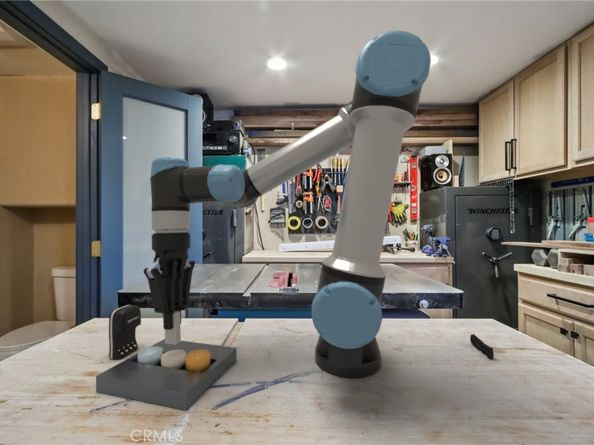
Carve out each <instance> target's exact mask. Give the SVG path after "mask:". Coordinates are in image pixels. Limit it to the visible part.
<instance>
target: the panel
mask: <svg viewBox="0 0 594 445" xmlns="http://www.w3.org/2000/svg"><path fill="white" fill-rule="evenodd" d="M155 346H157V347H162V348H163V354H164V353H166V352H168V351H172V350H184V351H185V352H186V355H187V354H188V353H189V352H191V351H194V350H199V349H205V350H209V351H210V367H209V368H207V369H206V370H205V371H204V372H203V373H197V372H191V371H186V362H185V363H183V364H182V365H180V366H179V367H178V368H176V369H173V368H167V367H161V359H160V360H158V361H156V362H155V363H153V364H152V365H149V364H143V363H138V353H136V354H134V355H132V356H131V357H128V358H126V359H124V360H123V361H121V362H119V363H117V364H115V365H114V366H112V367H110V368H109V369H106V370H104V371H103V372H100V373H99V374H97V375H96V377H95V392H96V393H100V394H104V395H109V396H114V397H118V398H123V399H129V400H132V401H139V402H142V403H143V402H144V403H148V404H153V405H156V406H157V405H158V406H162V407H167V408H172V409H175V410H182V411H188V410H189V409H190V408H191V406H192V405H193V404H194V403H196V402H197V401H198V400H199V398H201V396H203V395H204V393H206V392H207V391H208V390H209V389H210V388H211V387H212V386H213V385H214V384H215V383H216V382H217V381H218V380H219V379H220V378H221V377H222V376H223V375H224V374H225V373H226V372H227V371H228V370H229V369H230V368H231V367H232V366H233V365H234V364H235V363H236V362H237V361H238V360H237V358H238V357H237V353H238V352H237V350H238V349H237V348H238V347H235V346H234V347H232V346H227V345H226V346H225V345H219V344H218V345H217V344H210V343H202V342H196V341H195V342H194V341H188V340H181V342H179V343H178V344H176V345H174V344H165V338H164V339H162V340H160V341H158V342H156V343H154V344H152V345H150V346H149V347H155Z"/></svg>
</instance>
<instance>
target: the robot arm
mask: <svg viewBox="0 0 594 445" xmlns="http://www.w3.org/2000/svg"><path fill="white" fill-rule="evenodd" d="M431 61H432V59H431V52H430V50H429V48H428V46H427V44H426V43H425V42H423V40H422V39H421V38H420V36H417V35H416V34H414V33H411V32H410V31H405V30H390V31H385V32H382V33H380V34H378V35H376V36H375V37H373V38H372V39H371V40H369V41H368V42H367V43H365V45H364V46H363V48H362V49H361V50H360V52H359V54H358V58H357V60H356V63H355V68H354V69H355V70H354V72H355V84H354V88H353V95H352V100H351V101H350V102H348V103H347V104H345V105H343V106H342V107H341V108H340V109H339V112H338V114H337V115H335V116H334V117H332V118H331V119H329V120H327V121H325V122H324V123H322V124H320V125H319V126H317V127H315V128H314V129H312V130H310V131H309V132H306V133H305V134H303V135H302V136H300V137H298V138H297V139H295V140H294V141H292V142H290V143H288V144H287V145H285V146H283V147H281V148H280V149H278V150H276V151H275V152H273V153H271V154H270V155H268V156H266V157H265V158H263V159H261V160H260V161H258V162H256V163H254V164H253V165H251V166H249V167H248V168H246V169H245V170H243V171H241V169H240V167H239V166H237V165H233V164H216V165H205V166H204V165H203V166H193V167H191V166H190V164H189V162H188V161H187V160H186V159H183V158H179V157H174V156H171V157H168V156H167V157H166V156H162V157H157V158H154V159H153V160H152V161H151V165H150V166H151V169H150V178H149V180H150V195H151V231H154V233H152V235H151V249H152V251H153V252H154V254H155V255H154V258H153V263H152V265H151V266H150V267H145V268H144V269H143V274H144V275H145V277H146V278H147V282H148V286H149V291H150V295H151V300H152V305H153V306H152V307H153V310H154V313H157V314H162V319H163V320H162V321H163V322H162V324H163V330H164V339H165V344H174V345H176V344H178V343H179V342H181V341H182V340H181V335H182V334H181V324H182V311H186V309H187V307H186V306H187V305H188V304H189V300H190V292H191V284H192V277H193V270H194V268H195V265H196V261H195V260H190V259H189V255H188V253H187V250H190V249H191V233H190V232H188V231H189V230H190V229H191V209H190V208H191V204H201V203H202V204H203V203H205V204H207V203H208V204H209V203H210V204H212V203H213V204H219V205H226V206H227V205H228V206H233V207H236V208H248V207H251V206H254V204H256V202H257V201H258V200H259V198H261V197H262V196H264V195H265V194H267V193H269V192H270V191H273V190H274V189H276V188H278V187H279V186H281V185H283V184H285V183H287V182H288V181H290V180H291V179H293V178H295V177H298V176H299V175H301V174H302V173H304V172H306V171H308V170H309V169H312V168H313V167H315V166H317V165H318V164H320V163H322V162H325V161H326V160H327V159H329V158H331V157H333V156H335V155H337V154H338V153H340V152H342V151H343V150H346V149H347V148H349V147H350V146H351V152H350V157H349V162H348V167H347V172H346V173H347V174H346V178H345V184H344V189H343V194H342V199H341V205H340V210H339V216H338V221H337V226H336V227H337V228H336V232H335V238H334V244H333V249H332V253H331V254H330V255H329V256H327V257H326V258H324V259H323V260H322V263H321V269H320V274H319V275H320V276H319V280H318V283H317V284H318V286H317V291H316V294H315V296H314V297H313V299H312V302H311V318H312V319H311V320H312V323H313V326H314V328H315V330H316V331H317V333H318V334H319V337H318V339H317V343H316V346H315V349H314V350H315V351H314V352H315V353H314V360H315V363H316V365H317V366H318V367H319V368H320V369H321V370H323V371H324V372H326V373H329V374H331V375H335V376H339V377H343V378H344V377H345V378H364V376H365V377H368V375H369V376H372V375H375V374H376V373H377V372H379V370H381V368H382V352H381V350H380V347H379V343H378V340H377V337H376V336H377V335H378V333H379V332H380V329H381V326H382V323H383V322H382V321H383V310H382V306H381V304H382V298H383V291H384V287H385V283H386V282H385V281H386V277H387V274H386V272H385V270H384V269H383V268H382V266H381V264H380V260H381V254H382V250H383V245H384V238H385V236H386V235H385V234H386V228H387V223H388V219H389V211H390V207H391V204H392V202H391V201H392V197H393V193H394V192H393V190H394V187H395V182H396V176H397V171H398V165H399V160H400V154H401V149H402V144H403V139H404V134H405V133H406V132H407V131H408V130H410V129H411V128H413V127H414V125H415V123H416V118H417V113H418V108H419V104H420V99H421V98H420V97H421V92H422V89H423V85H424V83H425V82H426V81H427V80H428V79H427V78H428V77H429V74H430V69H431ZM380 367H381V368H380ZM375 372H376V373H375ZM371 374H372V375H371Z"/></svg>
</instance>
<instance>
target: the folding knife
mask: <svg viewBox="0 0 594 445" xmlns="http://www.w3.org/2000/svg"><path fill="white" fill-rule="evenodd" d="M469 338H470V339H469V341H470V344H471V345H472V346H473V347H474V348H475V349H477V350H478V351H479V352H480V351H481V352H482V353H481V352H480V353H481V354H483V355H484V356H485V355H486V356H487V357H488V358H487V357H486V356H485V357H486V358H487V359H490V360H492V359H494V356H495V354H494V349H493V347H491V346H490V345H488V344H486V343H485V342H484V341H482V339H480V338H479V337H478V336H476V334H475V333H473V334H470V337H469Z"/></svg>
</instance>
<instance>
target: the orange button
mask: <svg viewBox="0 0 594 445" xmlns="http://www.w3.org/2000/svg"><path fill="white" fill-rule="evenodd" d="M209 367H210V351H209V350H205V349H199V350H194V351H191V352H189V353H188V354H187V355H186V371H191V372H197V373H203V372H204V371H205V370H206V369H207V368H209Z"/></svg>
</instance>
